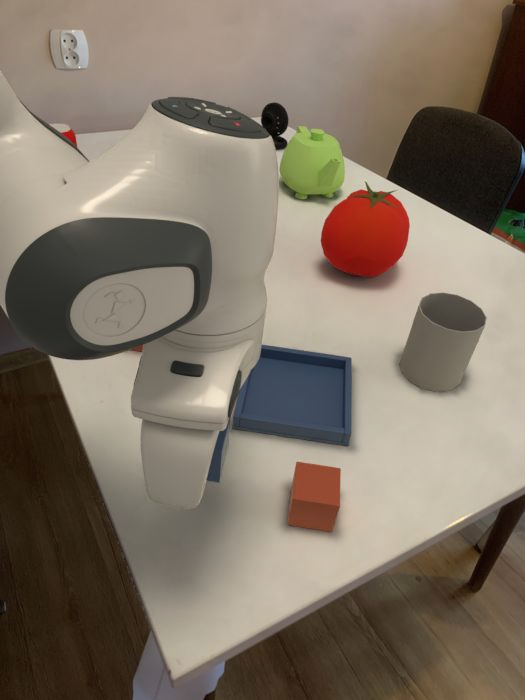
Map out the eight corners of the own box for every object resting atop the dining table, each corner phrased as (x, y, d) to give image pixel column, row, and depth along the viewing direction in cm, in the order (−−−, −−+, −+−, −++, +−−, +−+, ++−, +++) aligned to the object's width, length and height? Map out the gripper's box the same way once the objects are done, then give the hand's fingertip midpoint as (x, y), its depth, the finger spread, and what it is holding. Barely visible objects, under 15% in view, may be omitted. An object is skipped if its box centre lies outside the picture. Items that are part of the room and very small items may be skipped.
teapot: (356, 208, 112) (369, 147, 104) (296, 212, 108) (305, 149, 100) (320, 170, 126) (329, 114, 118) (266, 173, 122) (271, 115, 114)
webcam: (251, 143, 136) (254, 101, 130) (269, 137, 141) (273, 96, 134) (274, 152, 132) (279, 109, 126) (293, 145, 137) (298, 104, 131)
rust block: (287, 525, 54) (292, 498, 51) (291, 487, 57) (296, 461, 54) (332, 532, 54) (340, 506, 51) (333, 494, 57) (340, 468, 54)
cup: (387, 358, 75) (405, 299, 69) (432, 344, 78) (453, 287, 72) (427, 398, 69) (451, 338, 63) (473, 382, 73) (501, 323, 66)
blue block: (171, 475, 49) (170, 442, 46) (182, 438, 52) (182, 405, 50) (219, 483, 49) (222, 451, 46) (228, 445, 52) (231, 413, 49)
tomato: (374, 245, 100) (391, 173, 91) (416, 284, 91) (440, 209, 82) (298, 255, 95) (309, 180, 86) (335, 299, 85) (351, 219, 77)
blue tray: (232, 428, 63) (233, 416, 62) (249, 354, 73) (250, 342, 72) (348, 446, 62) (351, 434, 61) (348, 369, 73) (351, 357, 71)
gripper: (194, 256, 49) (192, 370, 58) (120, 419, 33) (133, 541, 42) (263, 267, 49) (250, 379, 57) (221, 435, 33) (213, 554, 42)
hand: (200, 448), depth 50 cm, fingers closed on blue block, 4 cm apart
